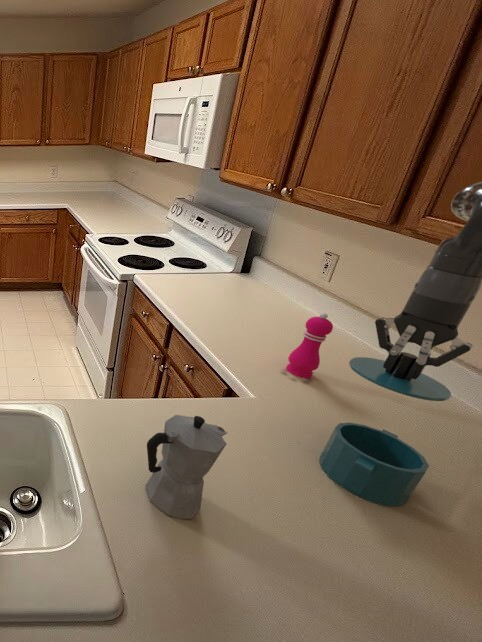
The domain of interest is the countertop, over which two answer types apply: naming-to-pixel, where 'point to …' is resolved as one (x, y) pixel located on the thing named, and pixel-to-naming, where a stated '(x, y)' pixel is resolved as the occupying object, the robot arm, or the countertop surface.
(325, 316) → the pepper mill
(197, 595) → the countertop surface
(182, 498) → the coffeepot
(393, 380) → the lid
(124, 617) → the countertop surface
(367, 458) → the pot
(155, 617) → the countertop surface
